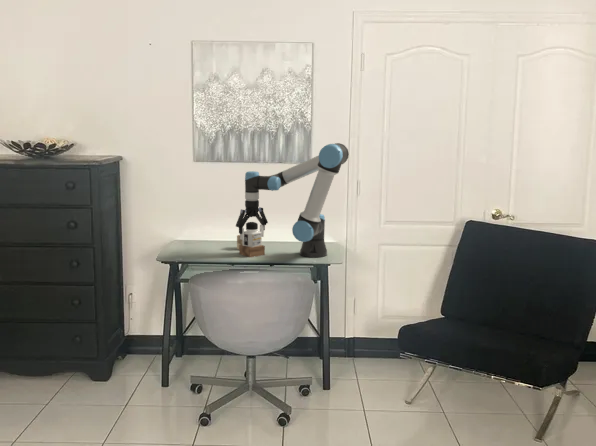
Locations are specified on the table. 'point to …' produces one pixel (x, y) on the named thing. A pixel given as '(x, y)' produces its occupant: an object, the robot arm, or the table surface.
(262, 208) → the robot arm
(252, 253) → the walnut block
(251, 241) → the container
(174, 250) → the table surface
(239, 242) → the maple block
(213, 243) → the table surface
